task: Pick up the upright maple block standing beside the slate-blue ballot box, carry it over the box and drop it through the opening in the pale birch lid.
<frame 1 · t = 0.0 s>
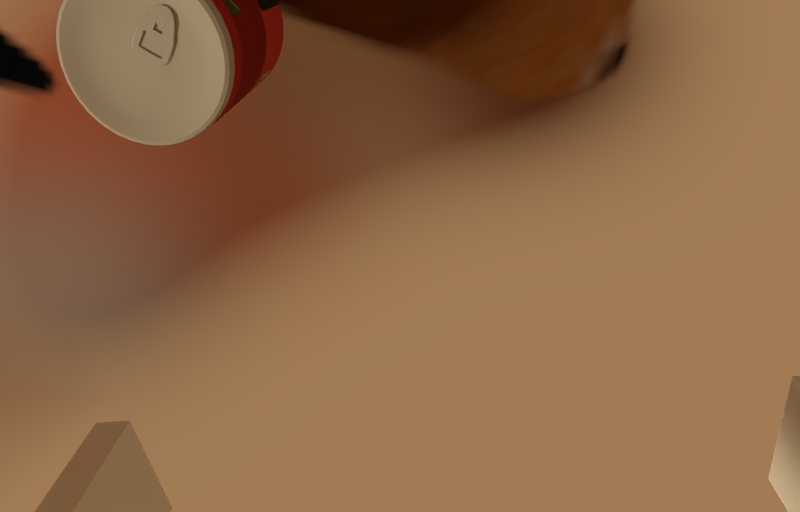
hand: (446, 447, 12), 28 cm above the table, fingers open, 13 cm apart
canned food: (224, 23, 35), on the table
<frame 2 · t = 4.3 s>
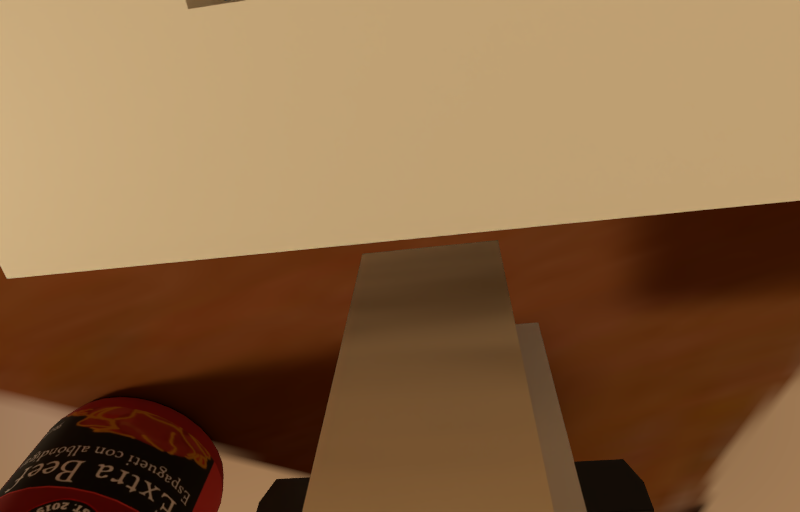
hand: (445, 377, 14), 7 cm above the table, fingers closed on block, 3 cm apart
block: (445, 371, 15), point 6 cm above the table, touching gripper
canned food: (143, 457, 25), on the table
when the fingers open (13 cm above the table, at t = 6.5 s): block drops 11 cm, resting on ballot box.
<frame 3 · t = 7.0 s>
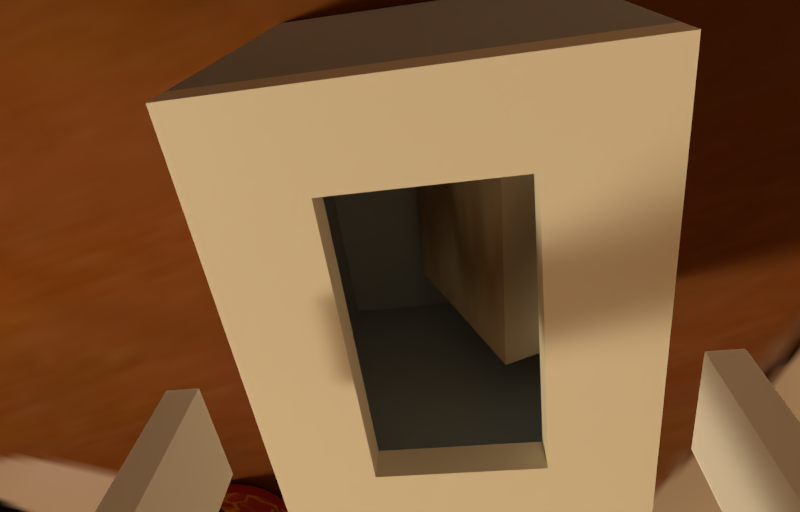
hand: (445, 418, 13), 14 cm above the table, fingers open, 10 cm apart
ballot box: (441, 176, 25), on the table
block: (450, 191, 24), point 1 cm above the table, tilted 24°, touching ballot box
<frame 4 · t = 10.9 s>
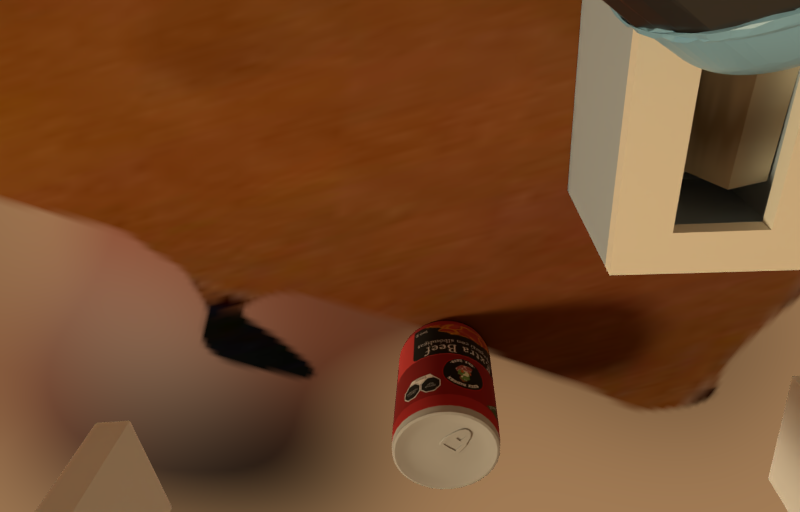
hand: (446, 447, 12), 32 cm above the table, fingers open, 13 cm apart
ballot box: (659, 90, 39), on the table
block: (670, 98, 38), point 1 cm above the table, tilted 24°, touching ballot box
canned food: (444, 353, 51), on the table
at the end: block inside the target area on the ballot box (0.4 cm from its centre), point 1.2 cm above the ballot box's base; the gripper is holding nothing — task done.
